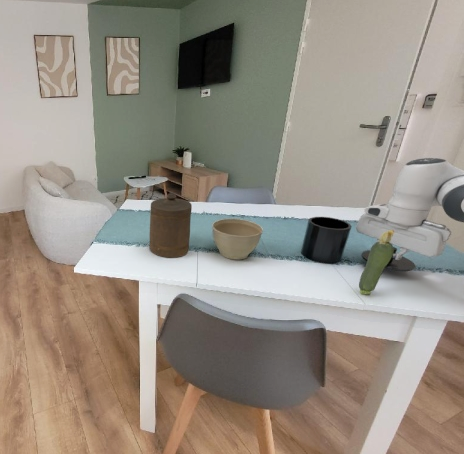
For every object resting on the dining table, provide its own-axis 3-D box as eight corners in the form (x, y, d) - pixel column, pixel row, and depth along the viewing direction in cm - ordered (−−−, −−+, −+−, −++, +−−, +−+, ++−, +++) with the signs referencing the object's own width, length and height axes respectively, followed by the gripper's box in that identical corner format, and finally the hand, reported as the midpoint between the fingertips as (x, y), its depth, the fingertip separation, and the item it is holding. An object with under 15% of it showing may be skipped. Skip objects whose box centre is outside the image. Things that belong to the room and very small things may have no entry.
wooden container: (183, 239, 118) (187, 187, 110) (193, 257, 105) (198, 199, 96) (147, 240, 119) (147, 189, 110) (152, 258, 105) (153, 201, 97)
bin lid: (424, 267, 87) (431, 253, 85) (396, 276, 84) (403, 261, 82) (377, 250, 98) (382, 236, 96) (351, 257, 95) (355, 243, 93)
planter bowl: (248, 244, 112) (252, 217, 108) (265, 265, 97) (271, 236, 93) (205, 244, 114) (208, 218, 110) (215, 265, 99) (219, 236, 95)
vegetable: (354, 287, 84) (377, 223, 76) (374, 291, 82) (399, 226, 74) (357, 295, 81) (381, 230, 73) (377, 299, 79) (404, 233, 71)
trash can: (349, 259, 98) (360, 226, 93) (324, 266, 95) (334, 232, 90) (316, 246, 108) (325, 214, 103) (293, 251, 105) (300, 219, 100)
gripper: (461, 225, 76) (439, 270, 82) (373, 203, 94) (360, 241, 100) (446, 229, 75) (425, 275, 80) (359, 206, 93) (347, 244, 98)
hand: (388, 256), depth 90 cm, fingers closed on bin lid, 2 cm apart
